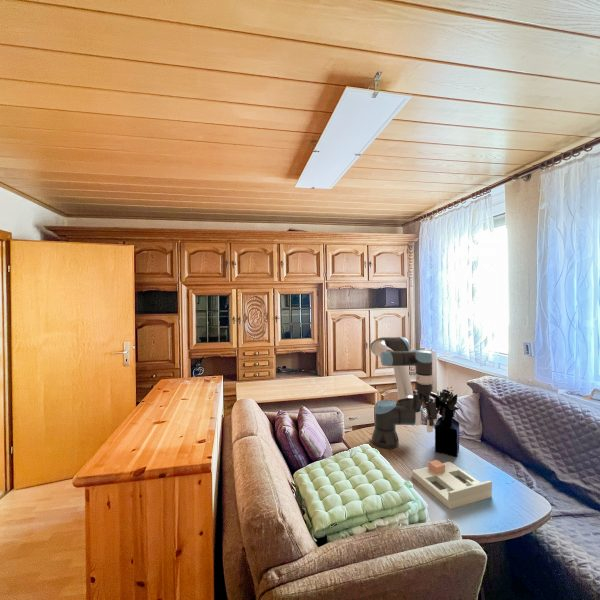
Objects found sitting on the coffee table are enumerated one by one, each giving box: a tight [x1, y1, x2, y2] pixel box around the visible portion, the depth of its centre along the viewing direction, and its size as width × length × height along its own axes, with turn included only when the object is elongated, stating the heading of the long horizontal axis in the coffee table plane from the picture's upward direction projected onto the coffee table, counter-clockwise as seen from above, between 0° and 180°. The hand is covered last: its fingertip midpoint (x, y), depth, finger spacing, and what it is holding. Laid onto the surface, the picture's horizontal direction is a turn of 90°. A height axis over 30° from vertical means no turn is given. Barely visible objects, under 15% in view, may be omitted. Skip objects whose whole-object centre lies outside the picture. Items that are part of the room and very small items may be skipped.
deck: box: [411, 461, 493, 510], centre depth 138 cm, size 23×22×6 cm
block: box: [427, 459, 445, 474], centre depth 145 cm, size 5×5×3 cm
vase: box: [431, 386, 460, 458], centre depth 168 cm, size 14×12×35 cm
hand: (424, 428), depth 153 cm, fingers open, 8 cm apart
